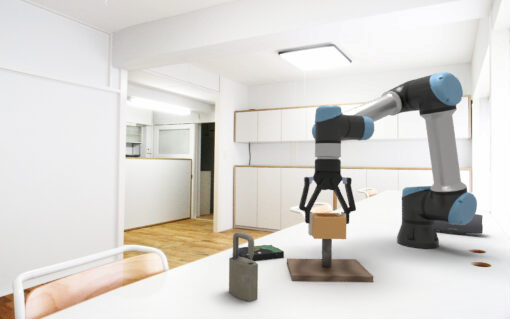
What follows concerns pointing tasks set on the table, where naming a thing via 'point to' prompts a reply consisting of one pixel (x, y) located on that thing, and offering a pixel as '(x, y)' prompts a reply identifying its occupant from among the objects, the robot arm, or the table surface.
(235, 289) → the padlock
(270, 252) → the disk drive
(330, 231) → the hollow square frame
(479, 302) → the table surface
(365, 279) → the wooden peg board
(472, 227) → the bluetooth speaker
